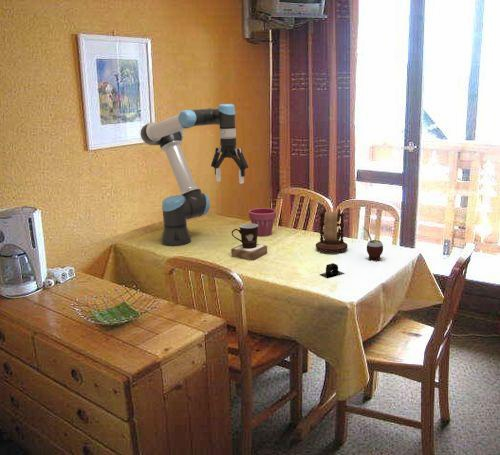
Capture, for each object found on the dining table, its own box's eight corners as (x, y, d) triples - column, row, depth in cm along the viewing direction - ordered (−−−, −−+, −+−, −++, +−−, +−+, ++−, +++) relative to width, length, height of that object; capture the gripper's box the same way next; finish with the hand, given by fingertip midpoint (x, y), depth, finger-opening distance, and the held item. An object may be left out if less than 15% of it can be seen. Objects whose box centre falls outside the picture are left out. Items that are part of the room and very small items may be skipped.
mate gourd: (386, 259, 223) (387, 226, 219) (372, 263, 219) (373, 229, 215) (374, 255, 229) (375, 223, 225) (360, 258, 225) (361, 226, 222)
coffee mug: (261, 244, 237) (260, 224, 235) (255, 250, 229) (254, 228, 227) (238, 243, 241) (237, 222, 239) (231, 248, 233) (230, 227, 231)
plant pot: (280, 232, 272) (280, 209, 269) (268, 238, 261) (267, 214, 258) (257, 229, 280) (257, 206, 276) (244, 235, 268) (243, 212, 265)
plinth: (231, 256, 234) (231, 248, 233) (246, 249, 244) (245, 241, 243) (253, 260, 227) (253, 252, 226) (267, 253, 237) (267, 245, 236)
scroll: (312, 253, 235) (312, 211, 230) (319, 244, 248) (319, 204, 243) (344, 255, 230) (345, 212, 225) (349, 246, 243) (350, 205, 238)
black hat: (325, 281, 202) (325, 270, 200) (314, 275, 208) (314, 265, 207) (349, 274, 208) (349, 264, 207) (337, 269, 214) (337, 259, 213)
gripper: (202, 137, 242) (204, 181, 247) (245, 138, 228) (247, 185, 233) (211, 136, 248) (214, 179, 253) (254, 137, 234) (256, 182, 240)
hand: (230, 182), depth 243 cm, fingers open, 13 cm apart
